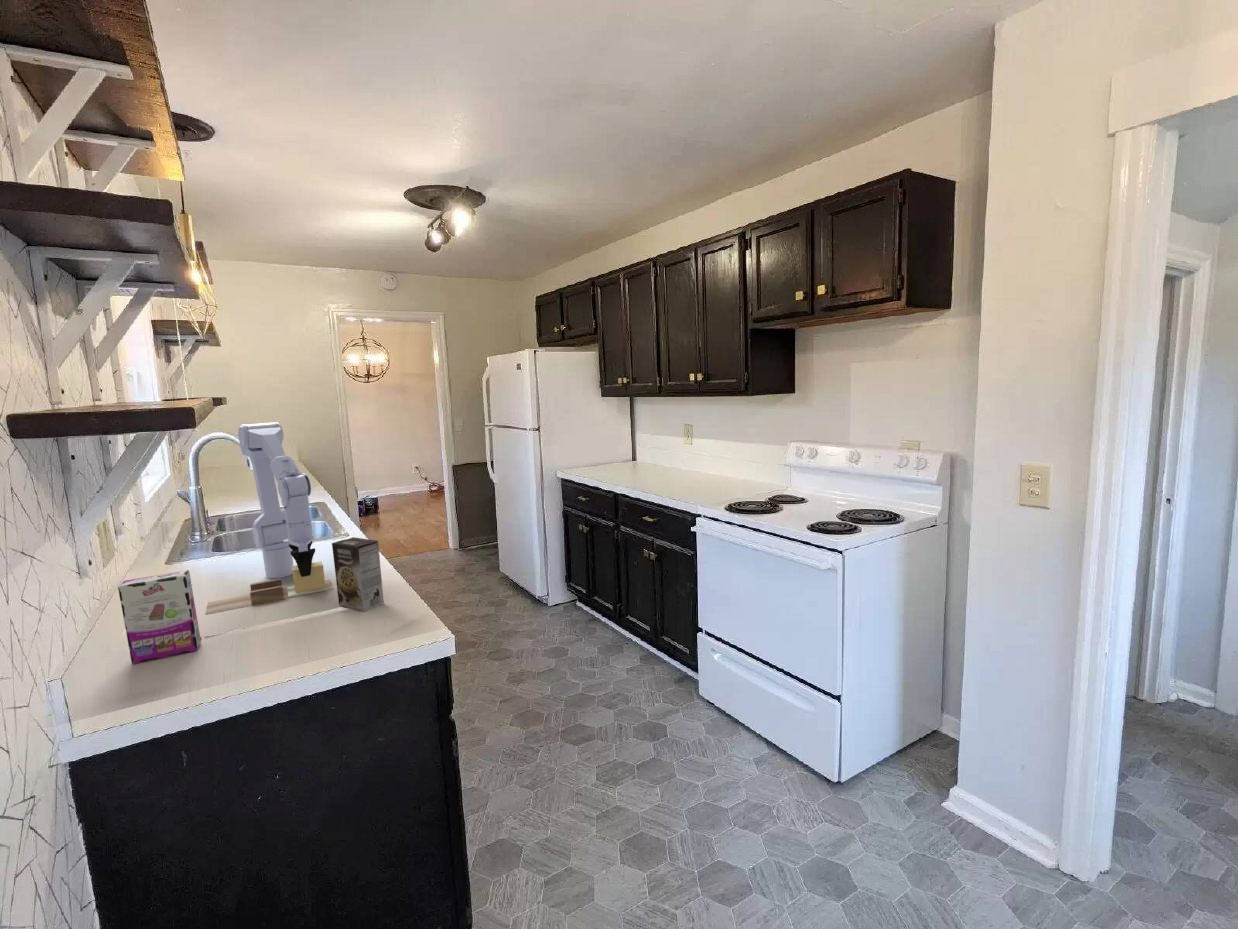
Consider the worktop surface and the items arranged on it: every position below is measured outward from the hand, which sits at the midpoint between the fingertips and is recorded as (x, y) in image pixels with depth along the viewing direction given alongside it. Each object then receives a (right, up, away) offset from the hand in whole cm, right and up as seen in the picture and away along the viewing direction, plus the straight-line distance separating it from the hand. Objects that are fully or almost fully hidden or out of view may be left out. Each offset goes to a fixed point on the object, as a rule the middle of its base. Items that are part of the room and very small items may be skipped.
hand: (304, 572), depth 158 cm
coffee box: (+20, -6, -11) cm, 23 cm away
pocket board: (-6, -6, -3) cm, 10 cm away
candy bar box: (-11, -11, -34) cm, 37 cm away
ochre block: (+1, -4, +1) cm, 4 cm away
